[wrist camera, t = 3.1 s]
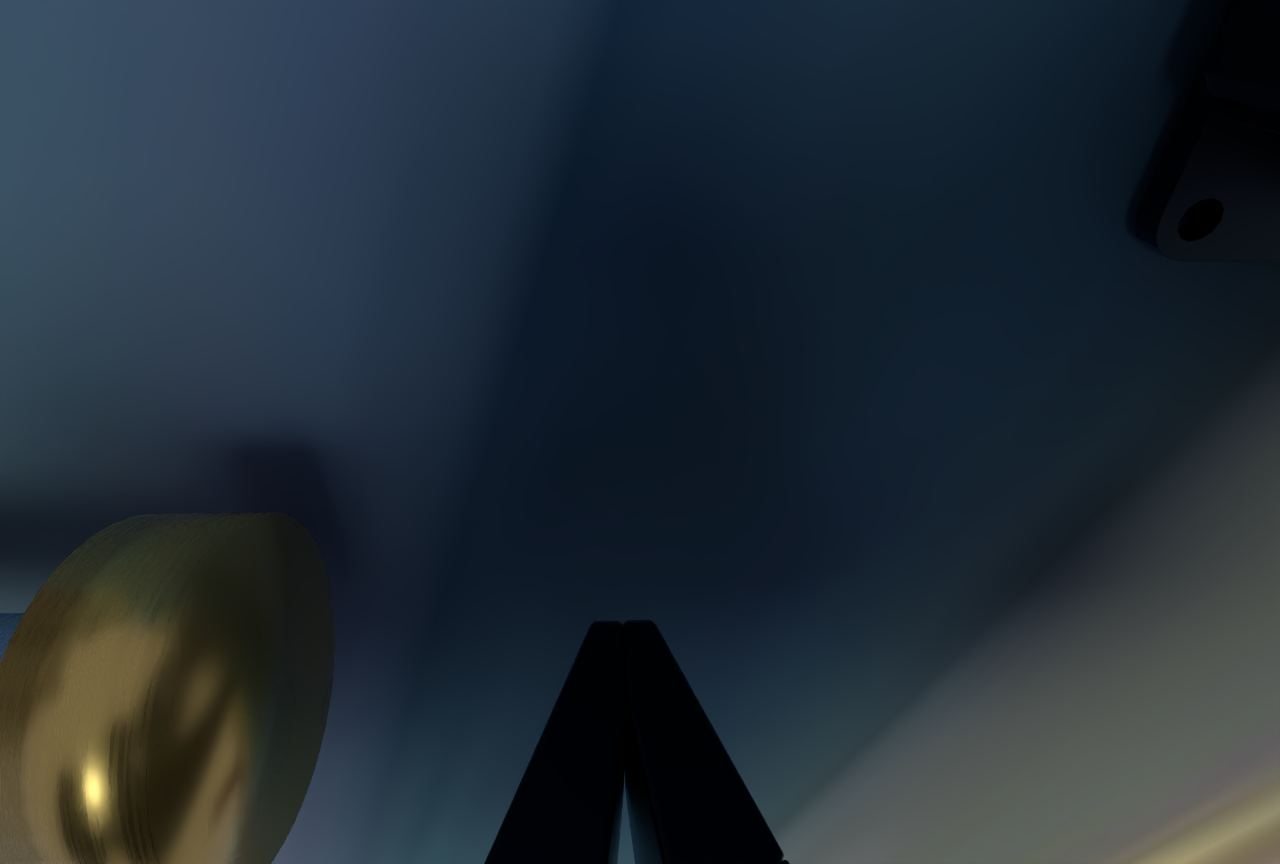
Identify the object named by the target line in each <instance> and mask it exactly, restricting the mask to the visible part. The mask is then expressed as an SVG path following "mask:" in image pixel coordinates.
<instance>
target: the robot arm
mask: <svg viewBox="0 0 1280 864" xmlns="http://www.w3.org/2000/svg"><path fill="white" fill-rule="evenodd" d="M1197 202H1199V204H1198V208H1197V211H1196V212H1195V214H1194V215H1193V216H1192V218H1191V219H1190V220H1189V221H1188V222H1187V223H1185V224H1184V225H1182V226H1181V227H1179V228H1178V225H1179V221H1180V219H1181V218H1182V216H1183V215H1184V213H1185V212H1186V211H1187V209H1188V208H1190V207H1191V206H1193V205H1194V204H1196V203H1197ZM1134 225H1135V230H1136V236H1137V238H1138V239H1139V240H1140V241H1141V242H1142V243H1143V244H1144V245H1145V246H1146V247H1148V248H1150V249H1151V250H1153V251H1155V252H1157V253H1159V254H1161V255H1163V256H1165V257H1167V258H1171V259H1175V260H1179V261H1236V262H1280V0H1232V1H1231V3H1230V5H1229V7H1228V10H1227V12H1226V14H1225V16H1224V19H1223V21H1222V23H1221V25H1220V28H1219V30H1218V32H1217V34H1216V37H1215V39H1214V41H1213V43H1212V46H1211V48H1210V50H1209V52H1208V55H1207V57H1206V59H1205V61H1204V63H1203V66H1202V68H1201V70H1200V72H1199V75H1198V77H1197V79H1196V81H1195V84H1194V86H1193V88H1192V90H1191V93H1190V95H1189V97H1188V99H1187V102H1186V104H1185V106H1184V108H1183V111H1182V113H1181V115H1180V117H1179V119H1178V122H1177V124H1176V126H1175V128H1174V131H1173V133H1172V135H1171V137H1170V140H1169V142H1168V144H1167V146H1166V149H1165V151H1164V153H1163V155H1162V158H1161V160H1160V162H1159V164H1158V167H1157V169H1156V171H1155V173H1154V175H1153V178H1152V180H1151V182H1150V184H1149V187H1148V189H1147V191H1146V193H1145V196H1144V198H1143V200H1142V202H1141V205H1140V207H1139V209H1138V213H1137V217H1136V221H1135V224H1134ZM624 773H625V790H626V799H627V807H628V815H629V822H630V829H631V836H632V843H633V850H634V857H635V864H789V862H788V861H787V860H783V857H784V854H783V852H782V850H781V848H780V846H779V844H778V843H777V841H776V839H775V837H774V836H773V834H772V832H771V830H770V828H769V827H768V825H767V823H766V821H765V819H764V818H763V816H762V814H761V812H760V810H759V809H758V807H757V805H756V803H755V801H754V800H753V798H752V796H751V794H750V792H749V791H748V789H747V787H746V785H745V784H744V782H743V780H742V778H741V776H740V775H739V773H738V771H737V769H736V767H735V766H734V764H733V762H732V760H731V758H730V757H729V755H728V753H727V751H726V749H725V748H724V746H723V744H722V742H721V740H720V739H719V737H718V735H717V733H716V732H715V730H714V728H713V726H712V724H711V723H710V721H709V719H708V717H707V715H706V714H705V712H704V710H703V708H702V706H701V705H700V703H699V701H698V699H697V697H696V696H695V694H694V692H693V690H692V688H691V687H690V685H689V683H688V681H687V680H686V678H685V676H684V674H683V672H682V671H681V669H680V667H679V665H678V663H677V662H676V660H675V658H674V656H673V654H672V653H671V651H670V649H669V647H668V645H667V644H666V642H665V640H664V638H663V636H662V635H661V633H660V631H659V629H658V628H657V626H656V624H655V623H654V622H653V621H651V620H628V621H626V622H624V624H623V626H622V624H621V622H619V621H595V622H593V623H592V624H591V625H590V627H589V629H588V631H587V634H586V636H585V638H584V640H583V643H582V645H581V647H580V649H579V652H578V654H577V656H576V658H575V661H574V663H573V665H572V667H571V670H570V672H569V674H568V676H567V679H566V681H565V683H564V685H563V688H562V690H561V692H560V694H559V697H558V699H557V701H556V703H555V706H554V708H553V710H552V712H551V715H550V717H549V719H548V721H547V724H546V726H545V728H544V730H543V733H542V735H541V737H540V739H539V742H538V744H537V746H536V748H535V751H534V753H533V755H532V757H531V760H530V762H529V764H528V766H527V769H526V771H525V773H524V775H523V778H522V780H521V782H520V784H519V787H518V789H517V791H516V793H515V796H514V798H513V800H512V802H511V805H510V807H509V809H508V811H507V814H506V816H505V818H504V820H503V823H502V825H501V827H500V829H499V832H498V834H497V836H496V838H495V841H494V843H493V845H492V847H491V850H490V852H489V854H488V856H487V859H486V861H485V863H484V864H617V862H618V851H619V840H620V829H621V818H622V807H623V791H624ZM782 860H783V861H782Z"/></svg>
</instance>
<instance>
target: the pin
mask: <svg viewBox="0 0 1280 864" xmlns="http://www.w3.org/2000/svg"><path fill="white" fill-rule="evenodd" d="M334 645H335V644H334V614H333V603H332V595H331V589H330V584H329V579H328V574H327V571H326V567H325V564H324V561H323V558H322V555H321V553H320V550H319V548H318V546H317V544H316V542H315V540H314V538H313V537H312V535H311V534H310V533H309V531H308V530H307V529H306V527H304V526H303V525H302V524H301V523H300V522H299V521H298V520H296V519H295V518H293V517H291V516H290V515H286V514H283V513H207V514H142V515H138V516H133V517H128V518H126V519H123V520H121V521H118V522H116V523H113V524H111V525H109V526H107V527H106V528H104V529H102V530H101V531H99V532H97V533H96V534H94V535H92V536H91V537H90V538H89V539H87V540H86V541H85V542H84V543H82V544H81V545H80V546H79V547H77V548H76V549H75V550H74V551H73V552H72V553H71V554H70V555H69V556H68V557H67V558H66V559H65V560H64V561H63V562H62V563H61V564H60V565H59V566H58V567H57V568H56V570H55V571H54V572H53V573H52V575H51V576H50V577H49V578H48V580H47V581H46V582H45V583H44V585H43V586H42V587H41V589H40V590H39V591H38V593H37V594H36V596H35V597H34V599H33V601H32V602H31V604H30V605H29V607H28V608H27V610H26V612H25V613H0V864H271V863H272V861H273V860H274V858H275V857H276V855H277V853H278V852H279V850H280V848H281V847H282V845H283V843H284V842H285V840H286V838H287V836H288V834H289V832H290V830H291V828H292V826H293V824H294V822H295V820H296V817H297V815H298V813H299V811H300V808H301V806H302V803H303V801H304V798H305V795H306V793H307V790H308V787H309V785H310V782H311V778H312V775H313V772H314V769H315V766H316V762H317V759H318V755H319V751H320V748H321V744H322V739H323V735H324V730H325V726H326V720H327V715H328V709H329V703H330V696H331V688H332V679H333V667H334Z"/></svg>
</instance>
